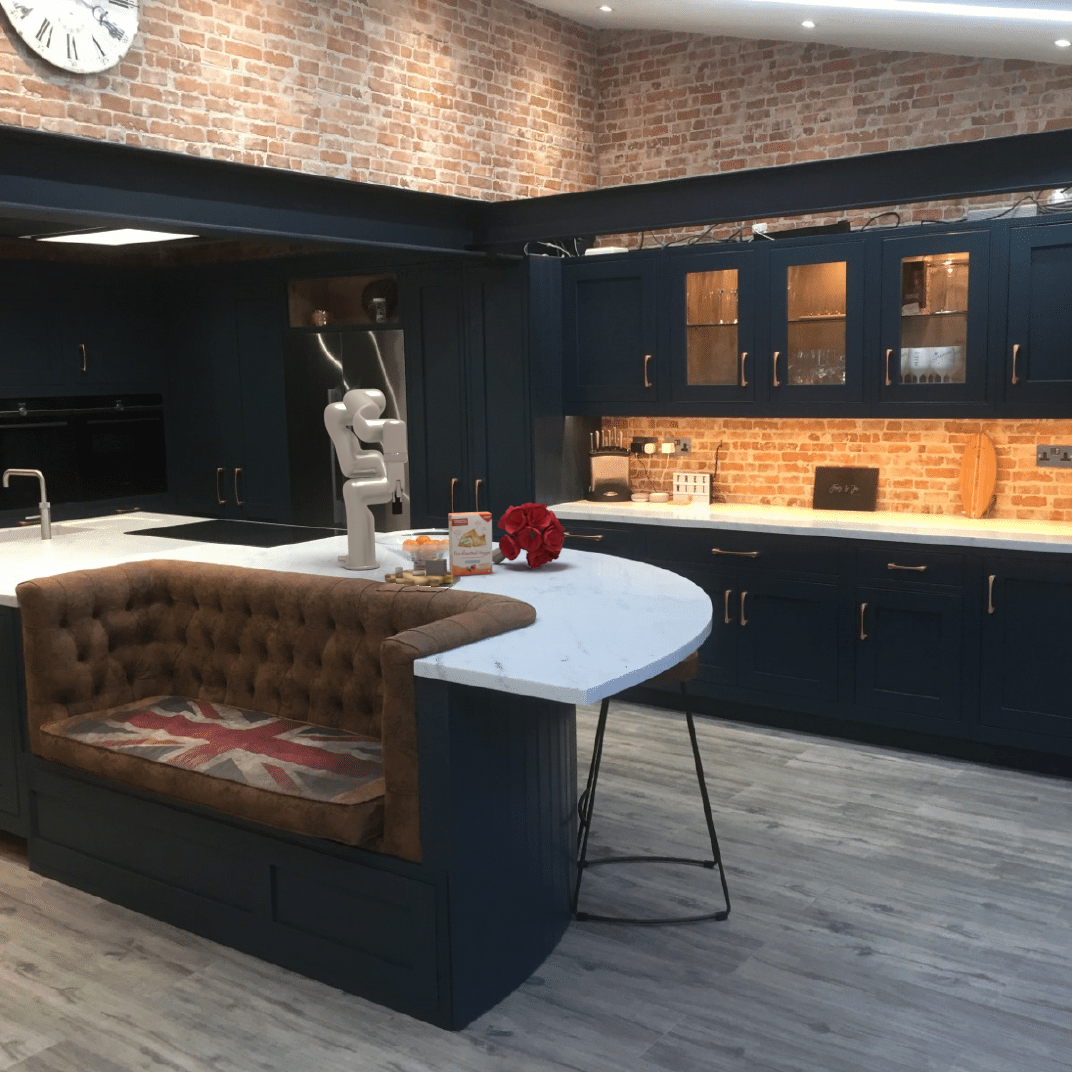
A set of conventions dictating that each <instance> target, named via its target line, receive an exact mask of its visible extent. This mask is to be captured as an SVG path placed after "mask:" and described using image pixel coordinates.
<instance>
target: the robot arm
mask: <svg viewBox="0 0 1072 1072" xmlns="http://www.w3.org/2000/svg"><path fill="white" fill-rule="evenodd" d="M386 406H387V402H386V397H385V395H384V393H383V392H382V391H381V390H380V389H376V388H362V389H361V388H359V389H351V390H349V391H347V392H346V393H345V394H344V396H343V398H342V401H338V402H337V401H336V402H332V403H330V404H328V405H327V406H326V407H325V409H324V413H323V417H324V419H323V420H324V426H325V428H326V431H327V433H328V435H329V437H330V438H331V441H332V442H333V444H334V448H335V451H336V455H337V460H338V463H339V467H340V470H341V473H342V474H343V475H344V477H346V478H351V479H348V480H346V481H345V483H344V484H343V487H342V494H343V496H342V497H343V500H344V504H345V512H346V525H347V551H348V552H347V553H348V554H346V555H337V562H339V563H341V562H345V564H344V566H343V567H344V569H346V570H352V571H353V570H354V571H363V570H365V571H366V570H374V569H378V568H380V567H381V563H380V562H379V561H376V560H377V558H376V555H377V554H376V532H375V530H376V529H375V516H374V515H373V512H372V511H371V510H370V509H369V508H368V506H369V505H370V506H371V505H379V504H380V505H381V504H387V503H389V502H391V514H392V515H394V516H395V515H398V516H399V515H403V500H402V499H403V498H402V496H403V495H402V494H404V493H405V464H406V463H408V451H407V445H408V444H407V424H406V422H405V421H404V420H401V419H396V418H380V417H381V415H382V414H383V413H384V412H385V409H386ZM347 426H352V428H353V431H352V430H350V429H349V428H347ZM358 438H359V439H358ZM359 440H361V441H363V442H364V443H368V444H369V443H382V446H383V447H382V448H383V449H382V450H383V454H382V452H381V451H380V450H376V449H365V450H364V449H362V448H361V445H360V442H359Z"/></svg>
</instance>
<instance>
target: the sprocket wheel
mask: <svg viewBox="0 0 1072 1072" xmlns="http://www.w3.org/2000/svg"><path fill="white" fill-rule="evenodd" d="M394 570H395V571H394V573H386V574H385V575H384V582H386V583H396V584H404V585H419V586H431V587H434V586H439V584H442V583H451V582H453V577H454V576H453V575H451V572H450V570H447V575H445V576H426V568H425V569H423V570H407V569H406V570H404V568H403V567H402V566H396V567H395V568H394Z"/></svg>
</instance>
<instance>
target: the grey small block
mask: <svg viewBox="0 0 1072 1072" xmlns="http://www.w3.org/2000/svg"><path fill="white" fill-rule="evenodd" d="M447 560H448V559H447V558H439V557H436V558H427V559H425V561H424V562H425V569H426V576H445V575H447V571H448V566H447V565H448V564H447Z"/></svg>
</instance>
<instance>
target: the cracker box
mask: <svg viewBox="0 0 1072 1072" xmlns="http://www.w3.org/2000/svg"><path fill="white" fill-rule="evenodd" d="M448 546H449V547H448V557H449V559H448V562H449V564H448V566H449V572H451V575H453V577H461V576H474V575H475V576H476V574H479V575H493V561H492V551H493V514H492V513H491V512H489V511H473V512H471V511H470V512H468V511H467V512H453V513H452V512H451V513H448Z"/></svg>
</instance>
